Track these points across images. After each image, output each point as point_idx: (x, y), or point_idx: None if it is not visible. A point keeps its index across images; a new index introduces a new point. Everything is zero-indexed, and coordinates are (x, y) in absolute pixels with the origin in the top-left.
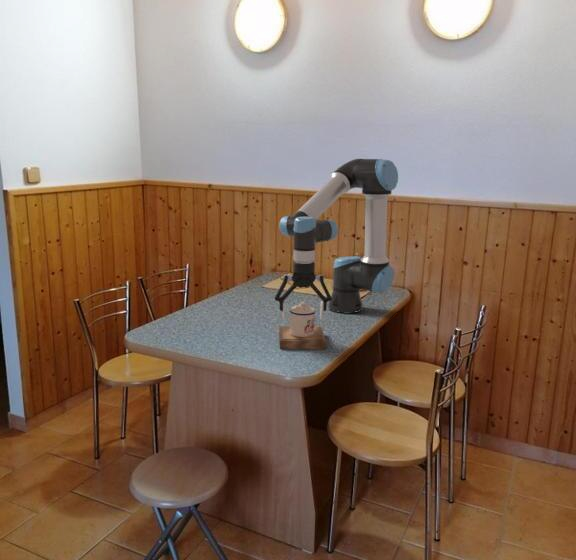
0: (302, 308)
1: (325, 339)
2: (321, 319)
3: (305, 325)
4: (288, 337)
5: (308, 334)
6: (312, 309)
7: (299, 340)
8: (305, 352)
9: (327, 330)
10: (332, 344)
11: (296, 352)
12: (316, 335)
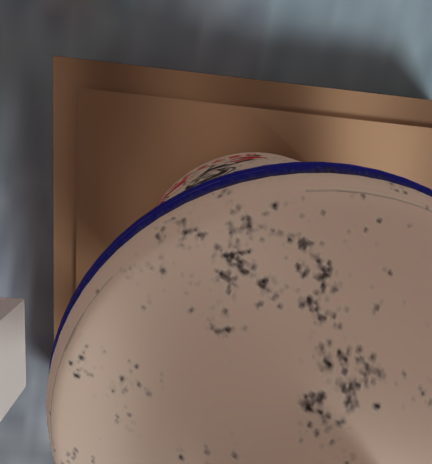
0: (375, 346)
1: (54, 105)
2: (9, 304)
3: (256, 159)
4: (393, 168)
5: (209, 162)
6: (102, 368)
7: (305, 95)
8: (256, 7)
9: (25, 452)
10: (16, 178)
11: (328, 14)
12: (126, 204)
